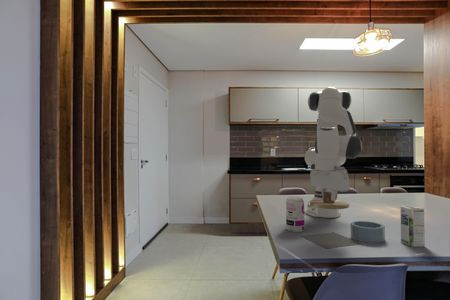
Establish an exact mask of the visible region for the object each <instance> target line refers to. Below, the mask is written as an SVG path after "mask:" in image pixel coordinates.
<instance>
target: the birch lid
mask: <svg viewBox="0 0 450 300" xmlns="http://www.w3.org/2000/svg"><path fill="white" fill-rule="evenodd" d="M331 194H332V192H323V199H320V200H311V199H310V200H311V201H310V200H309V201H310V205H311V206H313V207H317V208H324V209H339V210H344V209H348V208H350V203H349V202H347V201H344V200H339V199H337V200H335V201H331V200H330V196H331Z"/></svg>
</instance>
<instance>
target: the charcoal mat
mask: <svg viewBox="0 0 450 300" xmlns="http://www.w3.org/2000/svg"><path fill="white" fill-rule="evenodd" d="M300 237H301V238H304V239H305V240H308V241H310V242H312V243H313V244H315V245H317V246H320V247H321V248H323V249H326V250H328V249H335V248H343V247H344V248H345V247H352V246H358V245H363V243H362V242H361V241H360V242H359V241H358V240H355V239H353V238H349V237H347V236H344V235H341V234H340V233H336V232H335V231H334V232H333V231H332V232H325V233H324V232H322V233H316V234H315V233H314V234H313V233H312V234H305V235H300Z"/></svg>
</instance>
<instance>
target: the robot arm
mask: <svg viewBox="0 0 450 300" xmlns="http://www.w3.org/2000/svg"><path fill="white" fill-rule="evenodd" d="M307 104H308V107H309V110H310V111H313V112H317V111H318V115H317V125H316V138H317V139H316V140H315V141H314V148H311V149H308V150H307V151H306V152H305V154H304V161H305V163H306V165H307V166H308V167H309V169H310V173H309V174H310V177H309V179H310V185H311V186H312V187H315V191H313V194H314V195H313V197H312V198H311V199H310V200H309V201H308V202H307V205H306V206H307V208H304V214H307V215H309V216H310V217H315V218H316V217H318V218H331V219H332V218H339V217H340V215H341V212H340V209H324V208H317V207H313V206H311V205H310V201H311V200H320V199H323V192H332V194H331V196H330V200H331V201H335V200H338V199H337V198H338V192H348V191H350V178H349V173H348V170H347V169H346V168H345V167H344V166H342V165H344V164H345V163H346V161H347V159H356V158H357V157H359V156H360V155H361V154H362V152H363V143H362V141H361V138H360V135H359V134H358V132H357V131H358V130H357V128H356V125H355V122H354V118H353V117H352V113H351V112H350V111H349V108H350V106H351V104H352V96H351V94H350V92H349V91H345V90H342V91H341V90H339V89H338V88H336V87H334V86H333V87H332V86H328V87H326V88H324V89H322V91H314V92H311V93H310V94H309V95H308V99H307ZM338 125H339V126H342V127H343V128H344V130H345V133H346V135H339V134H340V133H339V130H338Z"/></svg>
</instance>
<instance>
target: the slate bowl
mask: <svg viewBox="0 0 450 300" xmlns="http://www.w3.org/2000/svg"><path fill="white" fill-rule="evenodd" d="M385 234H386V233H385V225H383V224H382V223H378V222H375V221H367V220H357V221H354V220H353V221H352V222H350V237H351V239H352V240H355V241H357V242H359V241H360V242H363V243H370V244H371V243H374V244H377V243H383V242H384V241H385V238H386V235H385Z"/></svg>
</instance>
